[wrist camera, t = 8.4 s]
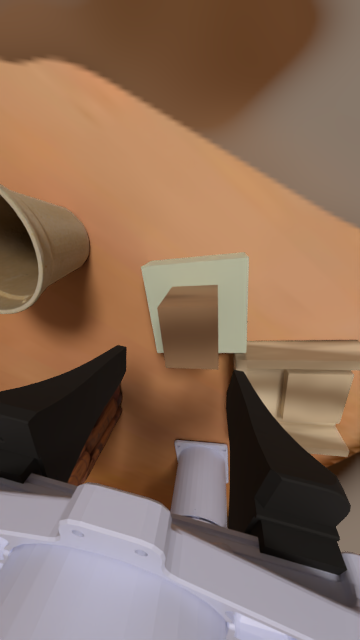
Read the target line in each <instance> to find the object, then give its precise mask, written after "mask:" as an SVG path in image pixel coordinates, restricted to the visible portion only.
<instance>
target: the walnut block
mask: <svg viewBox="0 0 360 640" xmlns="http://www.w3.org/2000/svg"><path fill="white" fill-rule="evenodd" d="M157 310H158V317H159V324H160V331H161V338H162V344H163V351H164V358H165V365H166V368H188V369H216V370H218V285H200V286H176V287H171V289H170V290H169V292H168V293H167V295H166V296H165V297H164V299H163V300H162V302H161V303H160V304H159V306H158V307H157Z"/></svg>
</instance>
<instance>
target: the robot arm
mask: <svg viewBox="0 0 360 640" xmlns="http://www.w3.org/2000/svg"><path fill="white" fill-rule="evenodd" d="M125 372H126V347H124V346H119V345H117V346H115V347H114V348H112V349H110V350H109V351H107V352H105V353H104V354H102V355H100V356H98V357H97V358H95V359H93V360H91V361H89V362H87V363H85V364H83V365H82V366H80V367H77V368H75V369H73V370H71V371H69V372H66V373H64V374H61V375H59V376H56V377H53V378H50V379H47V380H44V381H41V382H38V383H34V384H31V385H27V386H23V387H19V388H15V389H10V390H5V391H1V392H0V640H360V554H357V553H353V552H340V549H339V546H338V543H337V541H339V540H340V537H339V535H338V532H337V529H336V526H337V525H338V524H339V523H340V522H341V521H342V520H343V519H344V518H345V517H346V516H347V515H348V513H349V512H350V506H351V505H350V503H349V501H348V499H347V497H346V494H345V492H344V490H343V488H342V486H341V484H340V482H339V480H338V478H337V476H336V475H334V474H333V473H332V472H331V471H330V470H328V469H327V468H326V467H325V466H323V465H322V464H321V463H320V462H318V461H317V460H316V459H315V458H314V457H313V456H311V455H310V454H309V453H308V452H307V451H306V450H305V449H304V448H303V447H302V446H301V445H299V444H298V443H297V442H296V441H295V440H294V439H293V438H292V437H291V436H290V435H289V434H288V432H287V431H286V430H285V429H284V428H283V427H282V426H281V425H280V424H279V423H278V421H277V420H276V419H275V418H274V417H273V415H272V414H271V413H270V412H269V410H268V409H267V408H266V406H265V405H264V403H263V402H262V400H261V399H260V397H259V396H258V394H257V393H256V391H255V390H254V388H253V386H252V385H251V383H250V381H249V380H248V378H247V376H246V374H245V373H244V371H239V370H234V371H233V374H232V377H231V381H230V384H229V387H228V390H227V397H226V411H227V422H228V432H229V442H230V499H229V527H228V529H227V508H226V483H228V450H227V445H226V444H219V443H207V442H196V441H184V440H175V449H176V454H177V459H178V468H177V474H176V480H175V486H174V492H173V498H172V504H171V510H170V511H169V509H168V508H167V507H166V506H164V505H163V504H162V503H161V502H158V501H156V500H154V499H151V498H148V497H144V496H141V495H137V494H134V493H130V492H126V491H123V490H119V489H116V488H112V487H109V486H105V485H101V484H97V483H89V482H88V483H84V484H81V485H79V486H75V485H72V484H68V481H69V478H70V476H71V474H72V471H73V469H74V467H75V465H76V462H77V460H78V458H79V456H80V454H81V452H82V450H83V447H84V445H85V443H86V441H87V439H88V437H89V435H90V433H91V431H92V429H93V427H94V425H95V423H96V421H97V419H98V418H99V416H100V414H101V413H102V411H103V409H104V408H105V406H106V405H107V403H108V402H109V400H110V399H111V397H112V396H113V394H114V392H115V391H116V389H117V388H118V386H119V384H120V383H121V381H122V379H123V376H124V374H125Z"/></svg>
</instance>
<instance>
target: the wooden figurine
mask: <svg viewBox="0 0 360 640" xmlns="http://www.w3.org/2000/svg"><path fill="white" fill-rule="evenodd" d="M121 400H122V393H121V392H120V384H119V386H118V388H117V389H116V391H115V392H114V394H113V396H112V397H111V399H110V400H109V402H108V403H107V405H106V406H105V408H104V409H103V411H102V413H101V414H100V416H99V418H98V419H97V421H96V423H95V425H94V427H93V429H92V431H91V433H90V435H89V437H88V439H87V441H86V443H85V445H84V447H83V450H82V452H81V454H80V456H79V458H78V460H77V462H76V465H75V467H74V469H73V471H72V474H71V476H70V478H69V481H68V484H72V485H75V486H79V485H81V484H83V483H84V482H85V481H86V479H87V477H88V476H89V474H90V472H91V470H92V468H93V466H94V464H95V462H96V460H97V458H98V457H99V454H100V453H101V451H102V450H103V448H104V446H105V444H106V442H107V440H108V438H109V436H110V434H111V432H112V430H113V428H114V426H115V425H116V423H117V421H118V419H119V417H120V415H121V411H122V408H121V407H119V405H120V403H121Z"/></svg>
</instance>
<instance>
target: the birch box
mask: <svg viewBox="0 0 360 640" xmlns="http://www.w3.org/2000/svg"><path fill="white" fill-rule="evenodd" d="M234 370H239V371H244V373H245V374H246V376H247V378H248V380H249V381H250V383H251V385H252V386H253V388H254V390H255V391H256V393H257V394H258V396H259V397H260V399H261V400H262V402H263V403H264V405H265V406H266V408H267V409H268V410H269V412H270V413H271V414H272V415H273V417H274V418H275V419H276V420H277V421H278V423H279V424H280V425H281V426H282V427H283V428H284V429H285V430H286V431H287V432H288V434H289V435H290V436H291V437H292V438H293V439H294V440H295V441H296V442H297V443H298V444H299V445H301V446H302V447H303V448H304V449H305V450H306V451H307V452H308V453H311V454H322V455H333V456H345V457H347V456H348V454H349V449H348V448H347V446H346V444H345V442H344V441H343V439H342V437H341V435H340V434H339V432H338V430H337V428H336V427H335V424H336V423H338V424H339V423H340V420H341V417H342V413H343V410H344V407H345V404H346V400H347V397H348V394H349V390H350V387H351V384H352V380H353V377H354V374H353V373H352V372H351V370H360V342H359V341H358V340H310V341H247V347H246V353H234Z"/></svg>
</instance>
